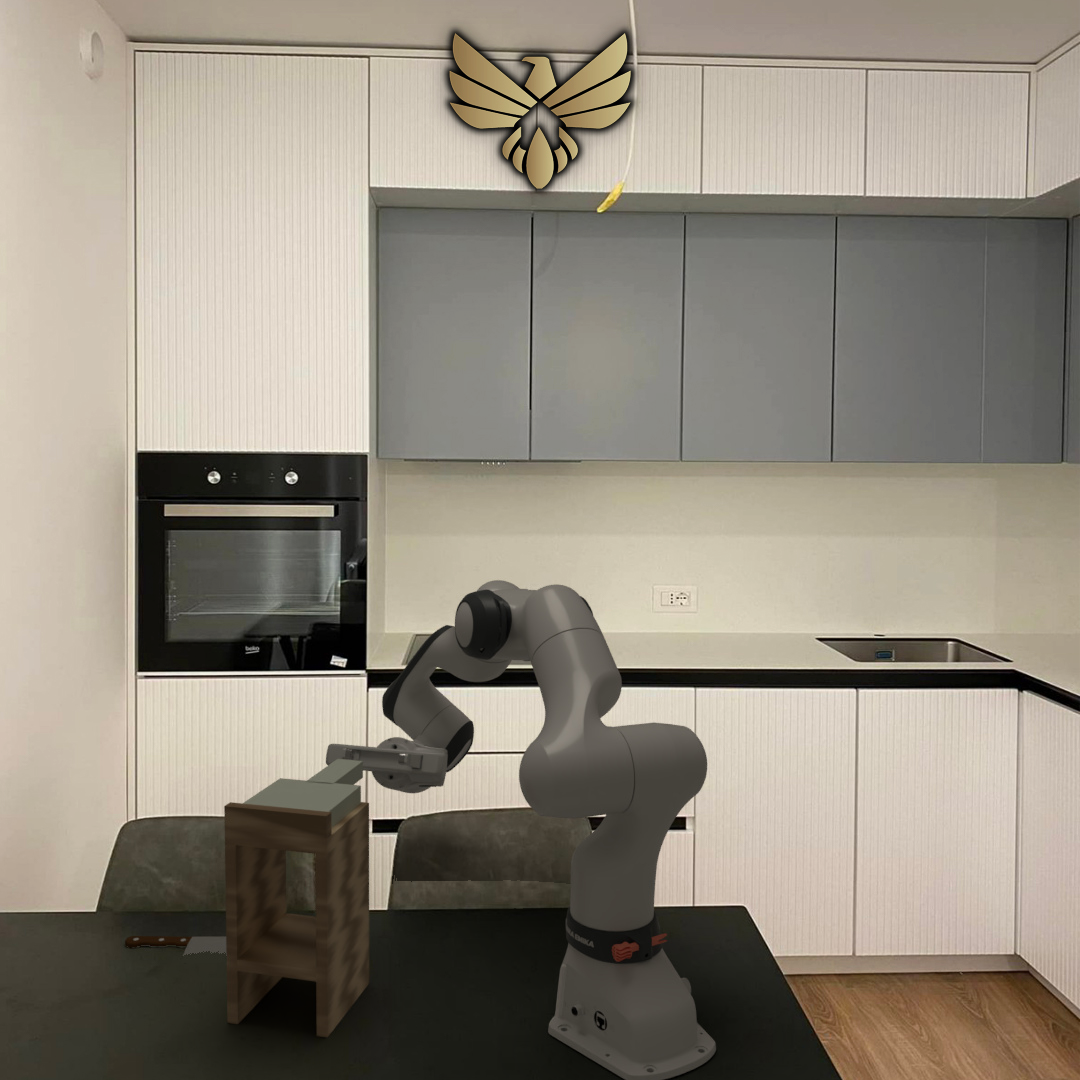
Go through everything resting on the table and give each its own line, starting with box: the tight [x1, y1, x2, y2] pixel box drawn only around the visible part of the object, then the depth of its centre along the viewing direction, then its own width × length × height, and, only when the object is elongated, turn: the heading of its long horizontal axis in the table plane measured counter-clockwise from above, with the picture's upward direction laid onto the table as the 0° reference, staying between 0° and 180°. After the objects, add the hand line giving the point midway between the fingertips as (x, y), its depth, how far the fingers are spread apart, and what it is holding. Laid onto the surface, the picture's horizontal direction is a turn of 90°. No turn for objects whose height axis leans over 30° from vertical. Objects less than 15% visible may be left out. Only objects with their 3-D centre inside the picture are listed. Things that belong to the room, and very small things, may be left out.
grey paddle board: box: [242, 759, 364, 828], centre depth 147 cm, size 22×12×2 cm, turn 167°
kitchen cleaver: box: [124, 935, 226, 956], centre depth 158 cm, size 24×1×10 cm
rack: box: [223, 801, 370, 1038], centre depth 143 cm, size 14×14×29 cm
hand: (374, 756), depth 171 cm, fingers open, 8 cm apart
